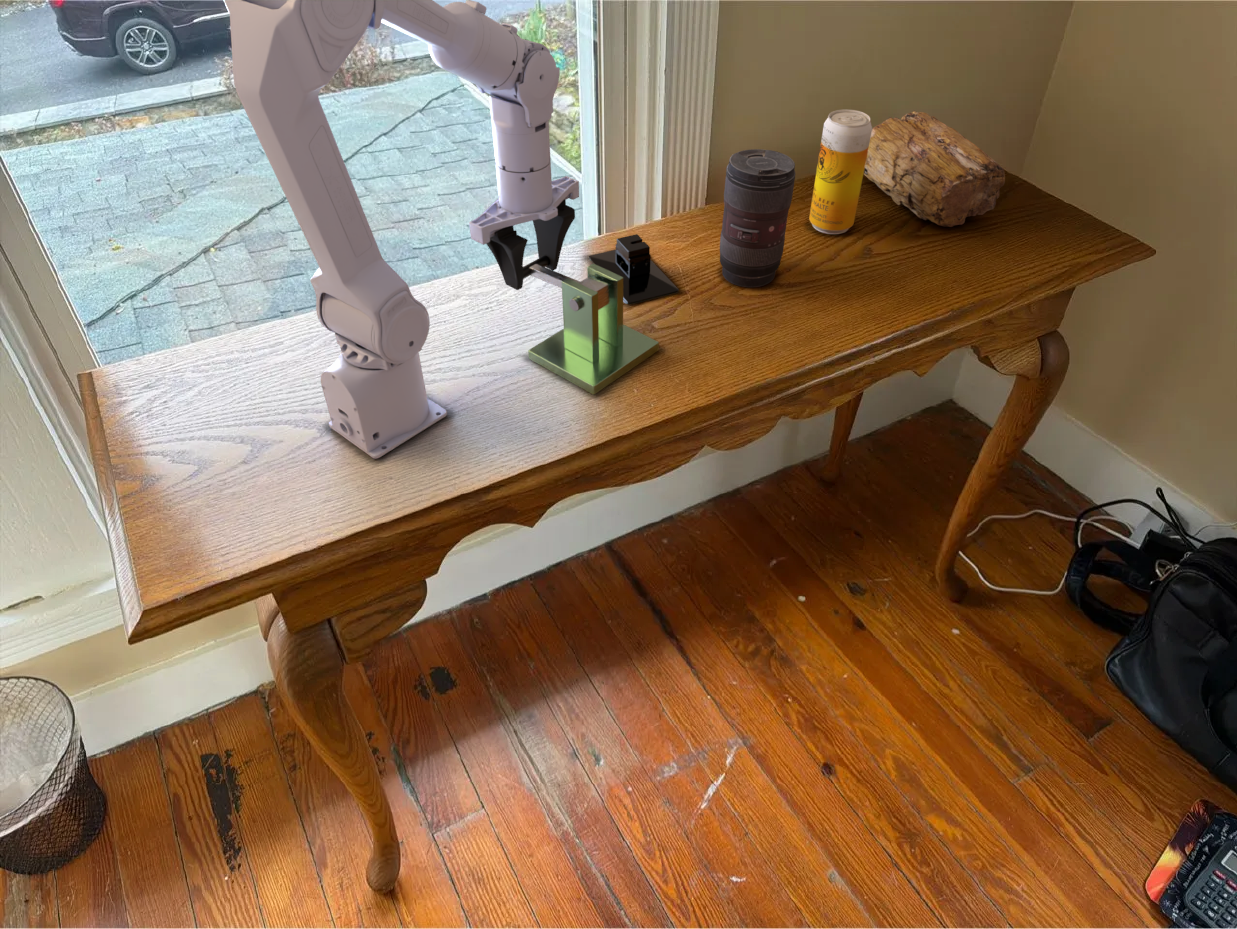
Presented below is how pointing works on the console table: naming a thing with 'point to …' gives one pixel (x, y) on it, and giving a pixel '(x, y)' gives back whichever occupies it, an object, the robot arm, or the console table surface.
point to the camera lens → (755, 215)
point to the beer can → (840, 170)
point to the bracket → (593, 336)
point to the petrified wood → (932, 169)
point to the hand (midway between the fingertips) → (531, 276)
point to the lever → (556, 278)
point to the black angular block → (635, 270)
